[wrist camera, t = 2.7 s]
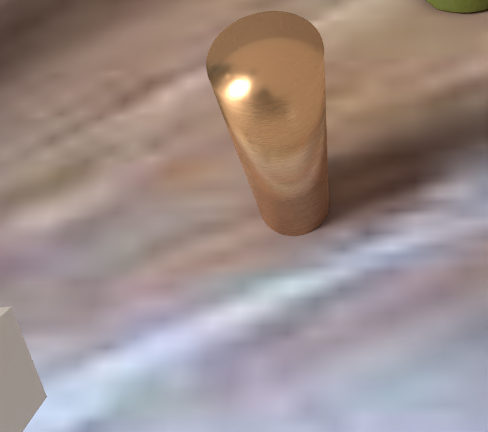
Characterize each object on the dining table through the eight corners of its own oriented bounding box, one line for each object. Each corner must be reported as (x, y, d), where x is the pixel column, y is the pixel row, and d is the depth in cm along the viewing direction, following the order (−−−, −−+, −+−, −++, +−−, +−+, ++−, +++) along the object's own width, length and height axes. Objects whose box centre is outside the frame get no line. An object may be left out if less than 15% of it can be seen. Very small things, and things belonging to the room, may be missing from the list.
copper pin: (246, 208, 26) (183, 68, 15) (290, 161, 27) (259, -5, 16) (297, 249, 25) (268, 125, 14) (343, 197, 25) (349, 41, 15)
